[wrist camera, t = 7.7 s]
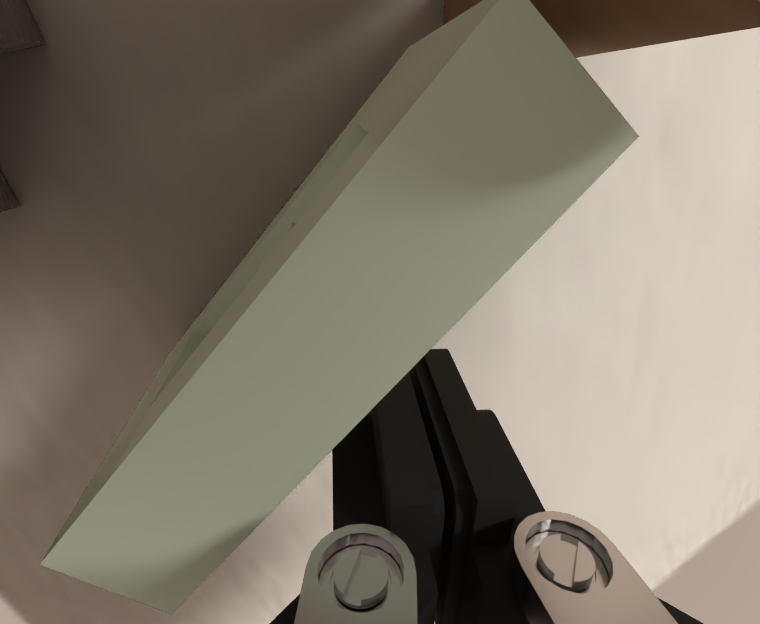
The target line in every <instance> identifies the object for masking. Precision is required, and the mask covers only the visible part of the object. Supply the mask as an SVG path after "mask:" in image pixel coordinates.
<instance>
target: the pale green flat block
mask: <svg viewBox="0 0 760 624" xmlns="http://www.w3.org/2000/svg"><path fill="white" fill-rule="evenodd" d="M638 137H639V136H638V134H637V133H636V132H635V131H634V129H633V128H632V127H631V126H630V124H629V123H628V122H627V121H626V120H625V118H624V117H623V116H622V115H621V113H620V112H619V111H618V110H617V108H616V107H615V106H614V105H613V103H612V102H611V101H610V100H609V98H608V97H607V96H606V95H605V93H604V92H603V91H602V90H601V88H600V87H599V86H598V85H597V83H596V82H595V81H594V80H593V79H592V77H591V76H590V75H589V74H588V72H587V71H586V70H585V69H584V67H583V66H582V65H581V64H580V62H579V61H578V60H577V59H576V57H575V56H574V55H573V54H572V52H571V51H570V50H569V49H568V47H567V46H566V45H565V44H564V43H563V41H562V40H561V39H560V38H559V36H558V35H557V34H556V33H555V31H554V30H553V29H552V28H551V26H550V25H549V24H548V23H547V21H546V20H545V19H544V18H543V16H542V15H541V14H540V13H539V11H538V10H537V9H536V8H535V7H534V5H533V4H532V3H531V2H530V0H483V1H481V2H480V3H478V4H476V5H475V6H473V7H472V8H470V9H468V10H467V11H465V12H464V13H462V14H460V15H459V16H457V17H456V18H454V19H452V20H451V21H449V22H448V23H446V24H444V25H443V26H441V27H440V28H438V29H437V30H435V31H433V32H432V33H430V34H429V35H427V36H425V37H424V38H422V39H421V40H419V41H417V42H416V43H414V44H413V45H411V46H409V47H408V48H407V49H406V51H405V52H404V53H403V55H402V56H401V57H400V58H399V60H398V61H397V62H396V64H395V65H394V66H393V67H392V69H391V70H390V71H389V73H388V74H387V75H386V76H385V78H384V79H383V80H382V82H381V83H380V84H379V85H378V87H377V88H376V89H375V91H374V92H373V93H372V94H371V96H370V97H369V98H368V99H367V101H366V102H365V103H364V105H363V106H362V107H361V108H360V110H359V111H358V112H357V114H356V115H355V116H354V117H353V119H352V120H351V121H350V123H349V124H348V125H347V126H346V128H345V129H344V130H343V132H342V133H341V134H340V135H339V137H338V138H337V139H336V141H335V142H334V143H333V144H332V146H331V147H330V148H329V149H328V151H327V152H326V153H325V155H324V156H323V157H322V158H321V160H320V161H319V162H318V164H317V165H316V166H315V167H314V169H313V170H312V171H311V173H310V174H309V175H308V176H307V178H306V179H305V180H304V182H303V183H302V184H301V185H300V187H299V188H298V189H297V190H296V192H295V193H294V194H293V196H292V197H291V198H290V199H289V201H288V202H287V203H286V205H285V206H284V207H283V208H282V210H281V211H280V212H279V214H278V215H277V216H276V217H275V219H274V220H273V221H272V223H271V224H270V225H269V226H268V228H267V229H266V230H265V232H264V233H263V234H262V235H261V237H260V238H259V239H258V240H257V242H256V243H255V244H254V246H253V247H252V248H251V249H250V251H249V252H248V253H247V255H246V256H245V257H244V258H243V260H242V261H241V262H240V264H239V265H238V266H237V267H236V269H235V270H234V271H233V273H232V274H231V275H230V276H229V278H228V279H227V280H226V282H225V283H224V284H223V285H222V287H221V288H220V289H219V290H218V292H217V293H216V294H215V296H214V297H213V298H212V299H211V301H210V302H209V303H208V305H207V306H206V307H205V308H204V310H203V311H202V312H201V314H200V315H199V316H198V317H197V319H196V320H195V321H194V323H193V324H192V325H191V326H190V328H189V329H188V330H187V332H186V333H185V334H184V335H183V337H182V338H181V339H180V340H179V342H178V343H177V344H176V346H175V347H174V348H173V349H172V351H171V352H170V353H169V355H168V357H167V358H166V360H165V361H164V363H163V365H162V366H161V368H160V370H159V371H158V373H157V374H156V376H155V378H154V379H153V381H152V383H151V384H150V386H149V387H148V389H147V391H146V392H145V394H144V396H143V397H142V399H141V400H140V402H139V404H138V405H137V407H136V409H135V410H134V412H133V414H132V415H131V417H130V418H129V420H128V422H127V423H126V425H125V427H124V428H123V430H122V431H121V433H120V435H119V436H118V438H117V440H116V441H115V443H114V444H113V446H112V448H111V449H110V451H109V453H108V454H107V456H106V457H105V459H104V461H103V462H102V464H101V466H100V467H99V469H98V471H97V472H96V474H95V475H94V477H93V479H92V480H91V482H90V484H89V485H88V487H87V488H86V490H85V492H84V493H83V495H82V497H81V498H80V500H79V501H78V503H77V505H76V506H75V508H74V510H73V511H72V513H71V514H70V516H69V518H68V519H67V521H66V523H65V524H64V526H63V528H62V529H61V531H60V532H59V534H58V536H57V537H56V539H55V541H54V542H53V544H52V545H51V547H50V549H49V550H48V552H47V554H46V555H45V557H44V558H43V560H42V562H41V563H40V565H42V566H44V567H47V568H50V569H52V570H55V571H58V572H60V573H63V574H66V575H68V576H71V577H74V578H76V579H79V580H82V581H84V582H87V583H89V584H92V585H95V586H97V587H100V588H103V589H105V590H108V591H111V592H113V593H116V594H119V595H121V596H124V597H126V598H129V599H132V600H134V601H137V602H140V603H142V604H145V605H148V606H150V607H153V608H156V609H158V610H161V611H164V612H166V613H169V614H172V613H173V612H174V611H175V610H176V609H177V608H178V607H179V606H180V605H181V604H182V603H183V602H184V601H185V600H186V599H187V598H188V597H189V596H190V595H191V594H192V593H193V592H194V591H195V590H196V588H197V587H198V586H199V585H200V584H201V583H202V582H203V581H204V580H205V579H206V578H207V577H208V576H209V575H210V574H211V573H212V572H213V571H214V570H215V569H216V568H217V567H218V566H219V565H220V564H221V563H222V562H223V561H224V560H225V559H226V558H227V557H228V556H229V555H230V554H231V553H232V552H233V551H234V550H235V549H236V548H237V547H238V546H239V545H240V544H241V542H242V541H243V540H244V539H245V538H246V537H247V536H248V535H249V534H250V533H251V532H252V531H253V530H254V529H255V528H256V527H257V526H258V525H259V524H260V523H261V522H262V521H263V520H264V519H265V518H266V517H267V516H268V515H269V514H270V513H271V512H272V511H273V510H274V509H275V508H276V507H277V506H278V505H279V504H280V503H281V502H282V501H283V500H284V499H285V498H286V496H287V495H288V494H289V493H290V492H291V491H292V490H293V489H294V488H295V487H296V486H297V485H298V484H299V483H300V482H301V481H302V480H303V479H304V478H305V477H306V476H307V475H308V474H309V473H310V472H311V471H312V470H313V469H314V468H315V467H316V466H317V465H318V464H319V463H320V462H321V461H322V460H323V459H324V458H325V457H326V456H327V455H328V454H329V453H330V452H331V450H332V449H333V448H334V447H335V446H336V445H337V444H338V443H339V442H340V441H341V440H342V439H343V438H344V437H345V436H346V435H347V434H348V433H349V432H350V431H351V430H352V429H353V428H354V427H355V426H356V425H357V424H358V423H359V422H360V421H361V420H362V419H363V418H364V417H365V416H366V415H367V414H368V413H369V412H370V411H371V410H372V409H373V408H374V407H375V405H376V404H377V403H378V402H379V401H380V400H381V399H382V398H383V397H384V396H385V395H386V394H387V393H388V392H389V391H390V390H391V389H392V388H393V387H394V386H395V385H396V384H397V383H398V382H399V381H400V380H401V379H402V378H403V377H404V376H405V375H406V374H407V373H408V372H409V371H410V370H411V369H412V368H413V367H414V366H415V365H416V364H417V363H418V362H419V361H420V359H421V358H422V357H423V356H424V355H425V354H426V353H427V352H428V351H429V350H430V349H431V348H432V347H433V346H434V345H435V344H436V343H437V342H438V341H439V340H440V339H441V338H442V337H443V336H444V335H445V334H446V333H447V332H448V331H449V330H450V329H451V328H452V327H453V326H454V325H455V324H456V323H457V322H458V321H459V320H460V319H461V318H462V317H463V316H464V315H465V313H466V312H467V311H468V310H469V309H470V308H471V307H472V306H473V305H474V304H475V303H476V302H477V301H478V300H479V299H480V298H481V297H482V296H483V295H484V294H485V293H486V292H487V291H488V290H489V289H490V288H491V287H492V286H493V285H494V284H495V283H496V282H497V281H498V280H499V279H500V278H501V277H502V276H503V275H504V274H505V273H506V272H507V271H508V270H509V269H510V267H511V266H512V265H513V264H514V263H515V262H516V261H517V260H518V259H519V258H520V257H521V256H522V255H523V254H524V253H525V252H526V251H527V250H528V249H529V248H530V247H531V246H532V245H533V244H534V243H535V242H536V241H537V240H538V239H539V238H540V237H541V236H542V235H543V234H544V233H545V232H546V231H547V230H548V229H549V228H550V227H551V226H552V225H553V224H554V223H555V221H556V220H557V219H558V218H559V217H560V216H561V215H562V214H563V213H564V212H565V211H566V210H567V209H568V208H569V207H570V206H571V205H572V204H573V203H574V202H575V201H576V200H577V199H578V198H579V197H580V196H581V195H582V194H583V193H584V192H585V191H586V190H587V189H588V188H589V187H590V186H591V185H592V184H593V183H594V182H595V181H596V180H597V179H598V178H599V177H600V175H601V174H602V173H603V172H604V171H605V170H606V169H607V168H608V167H609V166H610V165H611V164H612V163H613V162H614V161H615V160H616V159H617V158H618V157H619V156H620V155H621V154H622V153H623V152H624V151H625V150H626V149H627V148H628V147H629V146H630V145H631V144H632V143H633V142H634V141H635V140H636V139H637V138H638Z"/></svg>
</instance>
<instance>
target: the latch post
mask: <svg viewBox="0 0 760 624" xmlns="http://www.w3.org/2000/svg"><path fill="white" fill-rule="evenodd" d="M42 44H45V42H44V40H43V38H42V36H41V34H40V31H39V29H38V27H37V25H36V23H35V21H34V19H33V16H32V14H31V12H30V10H29V8H28V6H27V4H26V1H25V0H0V55H2V54H6V53H10V52H14V51H18V50H22V49H26V48H30V47H34V46H38V45H42ZM18 206H20V205H19V203H18V201H17V199H16V198H15V196H14V194H13V192H12V190H11V189H10V187H9V185H8V183H7V182H6V180H5V178H4V176H3V175H2V173H1V171H0V213H1V212H4V211H7V210H9V209H12V208H15V207H18Z"/></svg>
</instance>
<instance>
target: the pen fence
mask: <svg viewBox="0 0 760 624" xmlns="http://www.w3.org/2000/svg"><path fill="white" fill-rule="evenodd" d="M481 1H483V0H445V6H444V24H446V23H448V22H449V21H451V20H452V19H454V18H456V17H457V16H459V15H460V14H462V13H464V12H465V11H467V10H468V9H470V8H472V7H473V6H475V5H476V4H478V3H480V2H481ZM530 2H531V3H532V4H533V5H534V7H535V8H536V9H537V10H538V11H539V13H540V14H541V15H542V16H543V18H544V19H545V20H546V21H547V23H548V24H549V25H550V26H551V28H552V29H553V30H554V31H555V33H556V34H557V35H558V36H559V38H560V39H561V40H562V41H563V43H564V44H565V45H566V46H567V47H568V49H569V50H570V51H571V52H572V54H573V55H574V56H575V57H582V56H588V55H594V54H600V53H606V52H612V51H618V50H624V49H630V48H636V47H642V46H648V45H654V44H660V43H666V42H672V41H678V40H684V39H690V38H696V37H702V36H709V35H715V34H721V33H727V32H733V31H739V30H745V29H751V28H757V27H760V0H530Z"/></svg>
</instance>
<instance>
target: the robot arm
mask: <svg viewBox="0 0 760 624" xmlns="http://www.w3.org/2000/svg"><path fill="white" fill-rule="evenodd" d="M332 453H333V532H331V533H330V534H328V535H327V536H325V537H324V538H323V539H321V541H320V542H319V543H318V544H317V546H316V547H315V548H314V549H313V551H312V552H311V555H310V558H309V560H308V563H307V565H306V569H305V574H304V579H303V584H302V588H301V593H300V594H299V595H298V596H297V597H296V598H295V599H294V600H293V601H292V602H291V603H290V604H289V605H288V606H287V607H286V608H285V609H284V610H283V611H282V612H281V613H280V614H279V615H278V616H277V617H276V618H275V619H274V620H273V621H272V622H271V623H270V624H434V620H435V624H703V623H701V622H700V621H698V620H696V619H694V618H692V617H691V616H689V615H687V614H686V613H684V612H682V611H680V610H678V609H677V608H675V607H673V606H671V605H670V604H668V603H666V602H664V601H662V600H661V599H659V598H657V597H656V596H655V595H654V593H653V592H652V591H651V590H650V588H649V587H648V586H647V585H646V583H645V582H644V581H643V580H642V578H641V577H640V576H639V575H638V573H637V572H636V571H635V570H634V569H633V567H632V566H631V565H630V564H629V562H628V561H627V560H626V559H625V557H624V556H623V555H622V554H621V552H620V551H619V550H618V549H617V548H616V546H615V545H614V544H613V543H612V542H611V541H610V540H609V539H608V538H607V537H606V536H605V535H604V534H603V533H602V532H601V531H600V530H599V529H597V528H596V527H594V526H593V525H591V524H590V523H588V522H587V521H585V520H583V519H580V518H578V517H575V516H573V515H570V514H566V513H561V512H555V511H548V512H546V511H545V509H544V508H543V506H542V504H541V502H540V500H539V498H538V496H537V494H536V492H535V490H534V488H533V486H532V485H531V483H530V481H529V479H528V477H527V475H526V473H525V471H524V469H523V467H522V465H521V463H520V461H519V460H518V458H517V456H516V454H515V452H514V450H513V448H512V446H511V444H510V442H509V440H508V438H507V436H506V435H505V433H504V431H503V429H502V427H501V425H500V423H499V421H498V419H497V417H496V416H495V414H494V413H493V411H491V410H476V408H475V406H474V404H473V401H472V399H471V397H470V395H469V393H468V391H467V389H466V387H465V384H464V382H463V380H462V378H461V376H460V374H459V372H458V369H457V367H456V365H455V363H454V361H453V359H452V357H451V355H450V352H449V351H448V349H430V350H429V351H428V352H427V353H426V354H425V355H424V356H423V357H422V358H421V359H420V361H419V362H418V363H417V364H416V365H415V366H414V367H413V368H412V369H411V370H410V371H409V372H408V373H407V374H406V375H405V376H404V377H403V378H402V379H401V380H400V381H399V382H398V383H397V384H396V385H395V386H394V387H393V388H392V389H391V390H390V391H389V392H388V393H387V394H386V395H385V396H384V397H383V398H382V399H381V400H380V401H379V402H378V403H377V404H376V405H375V407H374V408H373V409H372V410H371V411H370V412H369V413H368V414H367V415H366V416H365V417H364V418H363V419H362V420H361V421H360V422H359V423H358V424H357V425H356V426H355V427H354V428H353V429H352V430H351V431H350V432H349V433H348V434H347V435H346V436H345V437H344V438H343V439H342V440H341V441H340V442H339V443H338V444H337V445H336V446H335V447H334V448H333V449H332Z"/></svg>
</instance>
